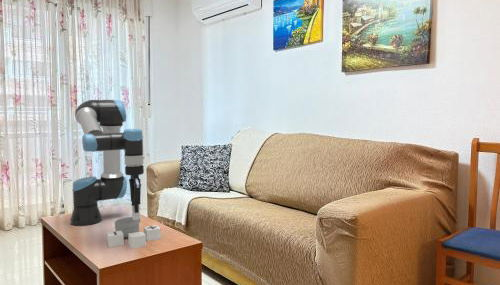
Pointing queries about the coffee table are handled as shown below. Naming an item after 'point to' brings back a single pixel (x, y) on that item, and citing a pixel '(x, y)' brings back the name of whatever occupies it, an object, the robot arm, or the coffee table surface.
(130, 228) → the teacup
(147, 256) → the coffee table surface
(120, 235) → the marked block bar
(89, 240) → the coffee table surface
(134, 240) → the plain block
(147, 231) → the marked block cross
